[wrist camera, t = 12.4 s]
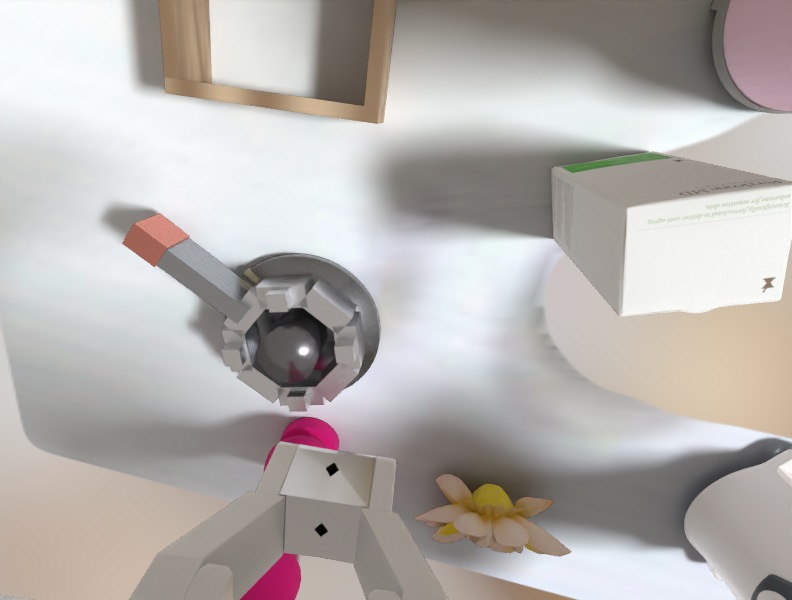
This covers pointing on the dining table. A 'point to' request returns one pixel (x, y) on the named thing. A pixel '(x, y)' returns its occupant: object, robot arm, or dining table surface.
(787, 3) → the blender
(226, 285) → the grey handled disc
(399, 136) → the dining table surface
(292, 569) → the pepper mill
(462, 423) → the dining table surface
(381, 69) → the square wooden frame
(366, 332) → the domed metal lid
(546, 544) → the decorative flower
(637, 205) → the skincare box
